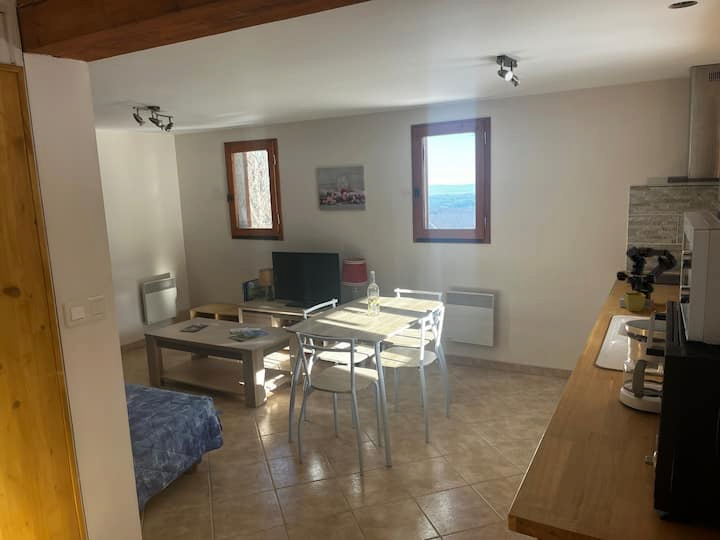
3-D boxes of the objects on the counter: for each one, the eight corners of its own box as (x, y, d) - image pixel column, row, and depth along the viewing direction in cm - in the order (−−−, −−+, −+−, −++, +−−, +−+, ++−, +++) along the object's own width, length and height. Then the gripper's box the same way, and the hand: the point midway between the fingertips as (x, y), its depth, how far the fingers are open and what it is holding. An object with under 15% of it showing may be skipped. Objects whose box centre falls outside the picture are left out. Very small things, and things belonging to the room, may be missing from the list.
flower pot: (645, 312, 279) (646, 295, 277) (627, 312, 280) (627, 295, 279) (640, 308, 287) (640, 292, 286) (622, 308, 289) (623, 292, 288)
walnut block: (645, 307, 291) (646, 299, 291) (653, 308, 287) (654, 300, 287) (640, 308, 289) (640, 300, 288) (648, 309, 285) (648, 301, 284)
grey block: (620, 306, 296) (620, 298, 295) (629, 306, 294) (629, 298, 293) (619, 307, 292) (620, 299, 291) (629, 308, 290) (629, 300, 289)
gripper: (658, 275, 295) (653, 300, 290) (622, 272, 307) (616, 296, 301) (656, 265, 288) (651, 289, 282) (619, 262, 299) (613, 285, 293)
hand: (632, 290), depth 290 cm, fingers closed
